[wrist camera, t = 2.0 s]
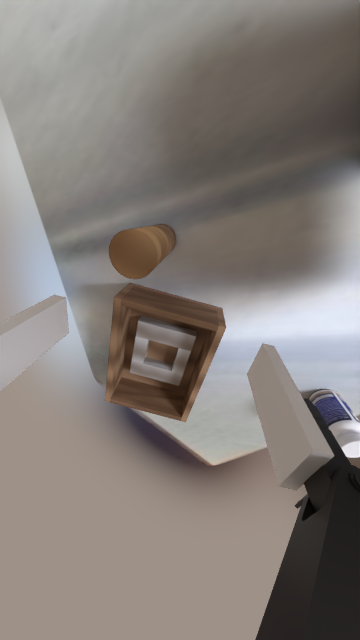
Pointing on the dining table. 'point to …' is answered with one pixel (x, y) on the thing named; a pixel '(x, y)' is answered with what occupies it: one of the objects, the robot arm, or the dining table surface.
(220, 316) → the box
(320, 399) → the pill bottle
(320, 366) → the dining table surface
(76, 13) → the dining table surface
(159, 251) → the dowel
